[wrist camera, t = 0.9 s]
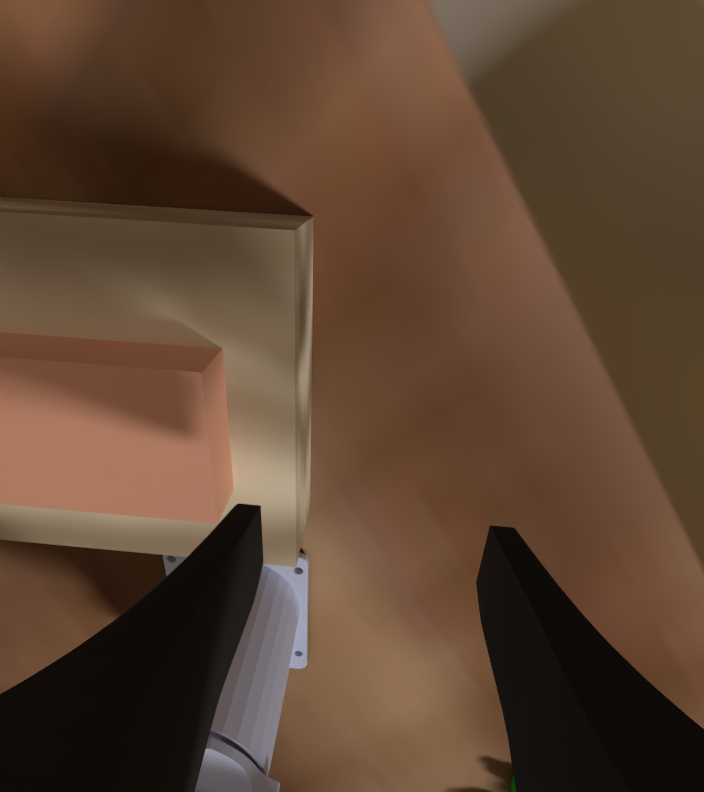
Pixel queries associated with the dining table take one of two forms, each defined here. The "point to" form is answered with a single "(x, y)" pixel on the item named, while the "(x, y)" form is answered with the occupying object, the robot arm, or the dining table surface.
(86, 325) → the board
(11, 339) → the terracotta brown block
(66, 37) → the dining table surface
